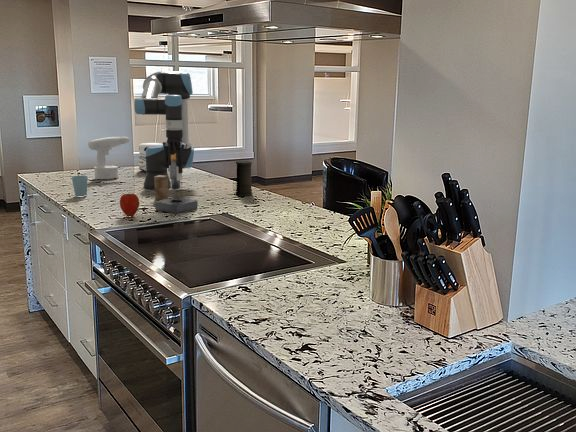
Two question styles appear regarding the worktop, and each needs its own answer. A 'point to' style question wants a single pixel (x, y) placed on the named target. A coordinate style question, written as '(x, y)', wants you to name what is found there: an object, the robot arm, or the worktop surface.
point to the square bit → (161, 187)
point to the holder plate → (176, 205)
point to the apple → (129, 204)
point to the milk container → (144, 154)
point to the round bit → (174, 173)
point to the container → (244, 178)
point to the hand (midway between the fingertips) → (175, 179)
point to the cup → (80, 185)
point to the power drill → (102, 150)
